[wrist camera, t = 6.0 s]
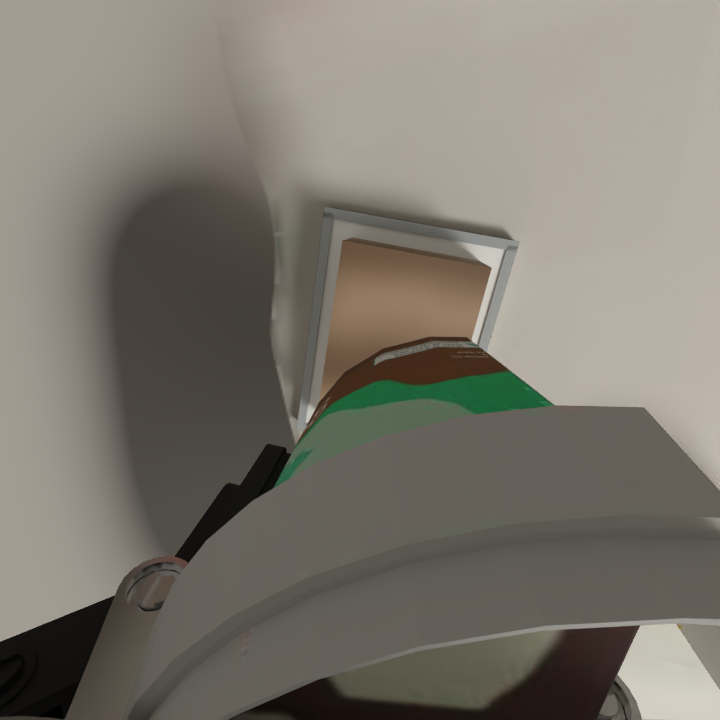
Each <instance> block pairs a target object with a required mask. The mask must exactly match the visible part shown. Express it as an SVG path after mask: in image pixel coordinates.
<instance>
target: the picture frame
mask: <svg viewBox="0 0 720 720" xmlns="http://www.w3.org/2000/svg"><path fill="white" fill-rule="evenodd" d="M349 238H358V239H363V240H369V241H374V242H380V243H385V244H391V245H396V246H402V247H407V248H413V249H418V250H423V251H429V252H434V253H440V254H445V255H451V256H456V257H462V258H467V259H473V260H478V261H481V262H482V263H484V264H486V265H488V266H490V267H491V268H492V269H491V273H490V276H489V280H488V283H487V287H486V290H485V294H484V297H483V301H482V304H481V308H480V311H479V315H478V319H477V322H476V326H475V329H474V333H473V336H472V340H471V341H473V342H474V343H475V344H476V345H478V346H479V347H480V348H482V349H483V350H484V351H485V352H487V348H488V345H489V342H490V338H491V335H492V332H493V328H494V325H495V322H496V318H497V315H498V312H499V308H500V305H501V302H502V298H503V295H504V292H505V289H506V285H507V282H508V279H509V275H510V272H511V269H512V265H513V262H514V259H515V255H516V252H517V249H518V245H519V241H513V240H508V239H502V238H496V237H491V236H485V235H480V234H474V233H468V232H463V231H457V230H452V229H446V228H441V227H435V226H429V225H424V224H418V223H413V222H407V221H401V220H396V219H390V218H385V217H379V216H373V215H368V214H362V213H357V212H351V211H346V210H340V209H334V208H329V207H324V215H323V223H322V231H321V239H320V247H319V255H318V263H317V271H316V279H315V287H314V295H313V303H312V311H311V319H310V327H309V335H308V343H307V351H306V359H305V367H304V375H303V383H302V391H301V399H300V407H299V415H298V423H297V430H301V431H304V429H305V428H306V426H307V424H308V422H309V420H310V418H311V416H312V414H313V413H314V411H315V409H316V407H317V405H318V403H319V399H320V392H321V385H322V378H323V371H324V364H325V357H326V350H327V343H328V337H329V330H330V323H331V316H332V309H333V302H334V295H335V288H336V281H337V274H338V267H339V261H340V254H341V247H342V240H346V239H349Z"/></svg>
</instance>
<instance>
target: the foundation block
mask: <svg viewBox="0 0 720 720" xmlns="http://www.w3.org/2000/svg"><path fill="white" fill-rule="evenodd" d="M491 269H492V268H491V267H490V266H488V265H486V264H484V263H482V262H481V261H478V260H473V259H467V258H462V257H456V256H451V255H445V254H440V253H434V252H429V251H423V250H418V249H413V248H407V247H402V246H396V245H391V244H385V243H380V242H374V241H369V240H363V239H358V238H349V239H346V240H342V247H341V254H340V261H339V267H338V274H337V281H336V288H335V295H334V302H333V309H332V316H331V323H330V330H329V337H328V343H327V350H326V357H325V364H324V371H323V378H322V385H321V392H320V399H319V402H320V401H321V399H322V398H323V397H324V396H325V395H326V393H327V392H328V391H329V390H330V389H331V388H332V386H333V385H334V384H335V383H336V382H337V380H338V379H339V378H340V377H341V376H342V374H343V373H344V372H345V371H347V370H349V369H350V368H352V367H353V366H355V365H357V364H358V363H360V362H362V361H363V360H365V359H367V358H368V357H370V356H372V355H373V354H375V353H376V352H378V351H380V350H381V349H383V348H387V347H391V346H395V345H399V344H403V343H406V342H410V341H414V340H418V339H422V338H426V337H467V338H469V339H470V340H472V336H473V333H474V329H475V326H476V322H477V319H478V315H479V311H480V308H481V304H482V301H483V297H484V294H485V290H486V287H487V283H488V280H489V276H490V273H491Z"/></svg>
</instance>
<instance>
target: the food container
mask: <svg viewBox="0 0 720 720" xmlns="http://www.w3.org/2000/svg"><path fill="white" fill-rule="evenodd" d="M675 623H683V624H700V625H717V626H720V491H719V490H718V489H717V487H716V486H715V485H714V484H713V483H712V482H711V481H710V480H709V479H708V478H707V476H706V475H705V474H704V473H703V472H702V471H701V470H700V469H699V468H698V467H697V465H696V464H695V463H694V462H693V461H692V460H691V459H690V458H689V457H688V456H687V454H686V453H685V452H684V451H683V450H682V449H681V448H680V447H679V446H678V445H677V443H676V442H675V441H674V440H673V439H672V438H671V437H670V436H669V435H668V433H667V432H666V431H665V430H664V429H663V428H662V427H661V426H660V425H659V424H658V422H657V421H656V420H655V419H654V418H653V417H652V416H651V415H650V414H649V413H648V411H647V410H646V409H645V408H642V407H599V406H555V405H554V404H552V403H551V402H550V401H548V400H547V399H546V398H545V397H543V396H542V395H541V394H539V393H538V392H537V391H536V390H534V389H533V388H532V387H530V386H529V385H528V384H527V383H525V382H524V381H523V380H521V379H520V378H519V377H518V376H516V375H515V374H514V373H512V372H511V371H510V370H509V369H507V368H506V367H505V366H503V365H502V364H501V363H500V362H498V361H497V360H496V359H494V358H493V357H492V356H491V355H489V354H488V353H487V352H485V351H484V350H483V349H482V348H480V347H479V346H478V345H476V344H475V343H474V342H473V341H471V340H470V339H469V338H467V337H426V338H422V339H418V340H414V341H410V342H406V343H403V344H399V345H395V346H391V347H387V348H383V349H381V350H380V351H378V352H376V353H375V354H373V355H372V356H370V357H368V358H367V359H365V360H363V361H362V362H360V363H358V364H357V365H355V366H353V367H352V368H350V369H349V370H347V371H345V372H344V373H343V374H342V376H341V377H340V378H339V379H338V380H337V382H336V383H335V384H334V385H333V386H332V388H331V389H330V390H329V391H328V392H327V393H326V395H325V396H324V397H323V398H322V399H321V401H320V402H319V403H318V405H317V407H316V409H315V411H314V413H313V414H312V416H311V418H310V420H309V422H308V424H307V426H306V428H305V429H304V431H303V433H302V435H301V437H300V439H299V441H298V443H297V445H296V446H295V448H294V450H293V452H292V454H291V456H290V458H289V460H288V462H287V463H286V465H285V467H284V469H283V471H282V473H281V475H280V477H279V479H278V480H277V482H276V484H275V486H274V488H273V489H271V490H270V491H268V492H266V493H265V494H263V495H261V496H260V497H258V498H256V499H255V500H253V501H252V502H251V503H249V504H248V505H247V506H246V507H245V508H244V509H242V510H241V511H240V512H239V513H238V514H237V515H235V516H234V517H233V518H232V519H231V520H230V521H228V522H227V523H226V524H225V525H224V526H223V527H222V528H220V529H219V530H218V531H217V532H216V533H215V534H213V535H212V536H211V537H210V538H209V539H208V540H206V542H205V543H204V544H203V545H202V547H201V548H200V549H199V551H198V552H197V553H196V554H195V556H194V557H193V558H192V559H191V561H190V562H189V563H188V565H187V566H186V567H185V568H184V570H183V571H182V572H181V574H180V575H179V576H178V577H177V579H176V580H175V581H174V583H173V585H172V587H171V589H170V591H169V593H168V595H167V597H166V599H165V601H164V603H163V606H162V608H161V610H160V612H159V614H158V616H157V618H156V620H155V622H154V625H153V628H152V631H151V634H150V637H149V640H148V643H147V646H146V649H145V652H144V655H143V658H142V661H141V664H140V667H139V670H138V673H137V676H136V679H135V682H134V685H133V688H132V691H131V694H130V697H129V700H128V702H127V705H126V708H125V711H124V714H123V717H122V720H596V719H597V717H598V715H599V713H600V711H601V708H602V706H603V704H604V702H605V700H606V698H607V695H608V693H609V691H610V689H611V687H612V685H613V682H614V680H615V678H616V676H617V674H618V672H619V669H620V667H621V665H622V663H623V661H624V659H625V656H626V654H627V652H628V650H629V648H630V646H631V643H632V641H633V639H634V637H635V635H636V633H637V631H638V629H639V627H640V625H656V624H675Z"/></svg>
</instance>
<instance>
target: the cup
mask: <svg viewBox="0 0 720 720" xmlns="http://www.w3.org/2000/svg"><path fill="white" fill-rule="evenodd" d="M676 624H677V626H678V627H679V629H680V630H681V632H682V633H683V635H684V636H685V638H686V639H687V641H688V642H689V644H690V645H691V647H692V649H693V650H694V652H695V653H696V655H697V656H698V658H699V659H700V661H701V662H702V664H703V665H704V667H705V668H706V670H707V671H708V673H709V674H710V676H711V677H712V679H713V680H714V682H715V683H716V685H717V686H718V688H719V689H720V626H717V625H700V624H683V623H676Z"/></svg>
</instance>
